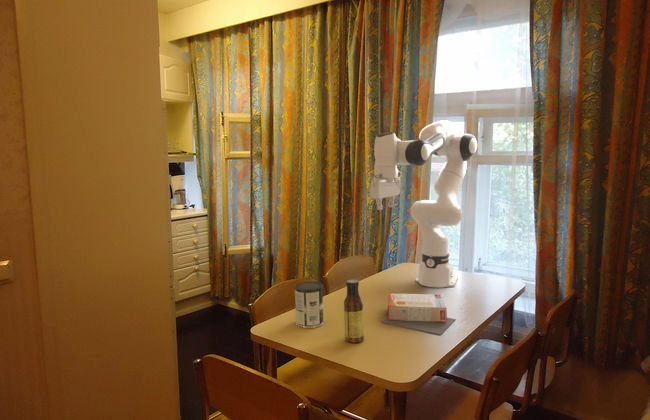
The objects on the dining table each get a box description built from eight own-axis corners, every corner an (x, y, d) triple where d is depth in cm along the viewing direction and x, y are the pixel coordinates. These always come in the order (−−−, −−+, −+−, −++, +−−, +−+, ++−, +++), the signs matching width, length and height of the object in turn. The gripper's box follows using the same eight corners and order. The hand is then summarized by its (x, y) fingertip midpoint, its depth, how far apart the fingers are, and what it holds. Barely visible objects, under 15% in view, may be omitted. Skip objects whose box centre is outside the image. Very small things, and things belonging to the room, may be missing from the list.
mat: (399, 309, 170) (399, 308, 169) (455, 320, 157) (455, 319, 157) (381, 322, 156) (381, 321, 156) (440, 335, 144) (440, 334, 144)
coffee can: (310, 315, 164) (309, 279, 162) (329, 322, 157) (328, 285, 155) (289, 323, 157) (288, 285, 155) (308, 330, 150) (307, 291, 148)
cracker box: (387, 321, 157) (447, 323, 154) (387, 305, 156) (447, 306, 153) (388, 307, 171) (443, 309, 167) (388, 292, 170) (443, 294, 166)
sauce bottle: (367, 339, 142) (367, 280, 140) (356, 345, 138) (355, 285, 135) (352, 334, 147) (351, 277, 144) (340, 340, 142) (339, 281, 139)
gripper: (381, 175, 160) (381, 211, 162) (403, 172, 177) (403, 206, 179) (366, 174, 164) (366, 210, 166) (389, 172, 181) (389, 205, 182)
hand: (385, 208), depth 172 cm, fingers open, 8 cm apart
